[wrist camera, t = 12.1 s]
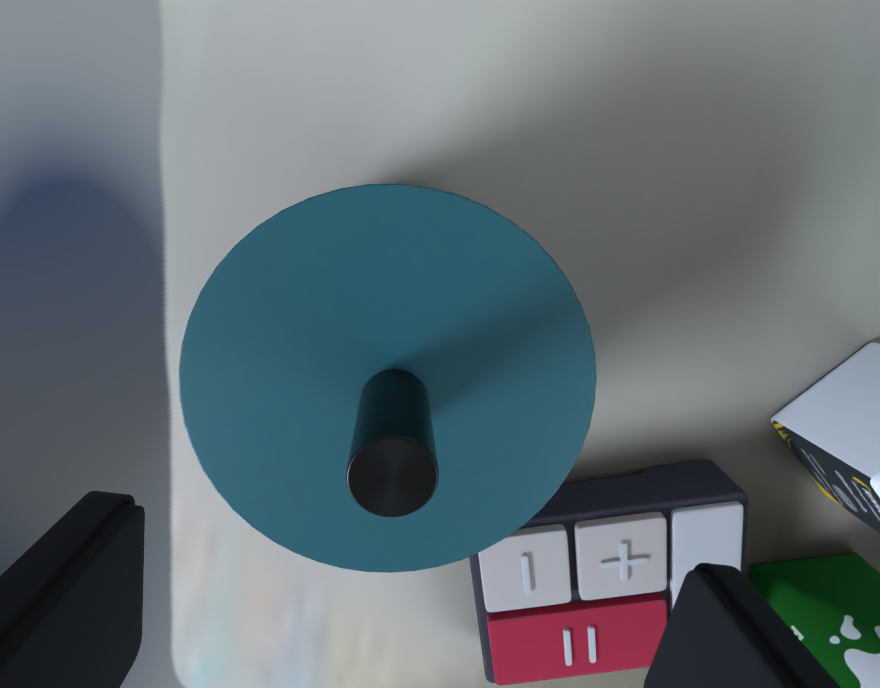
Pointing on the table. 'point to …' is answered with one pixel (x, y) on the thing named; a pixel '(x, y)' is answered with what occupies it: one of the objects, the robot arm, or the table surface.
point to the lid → (387, 378)
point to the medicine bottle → (841, 433)
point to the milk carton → (829, 612)
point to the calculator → (602, 571)
